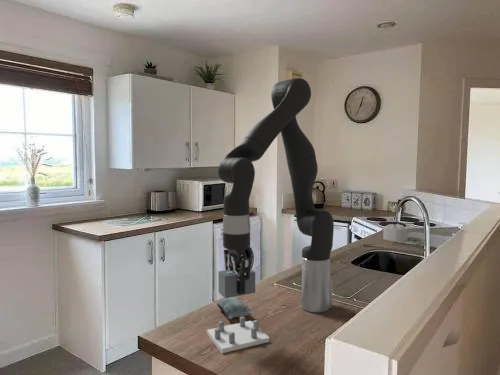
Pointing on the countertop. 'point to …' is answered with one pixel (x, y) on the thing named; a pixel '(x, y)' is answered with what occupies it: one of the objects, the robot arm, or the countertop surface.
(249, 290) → the block
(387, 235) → the lumpy-topped squat cylinder
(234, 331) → the pegged holder plate
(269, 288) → the countertop surface
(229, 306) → the packaged food
